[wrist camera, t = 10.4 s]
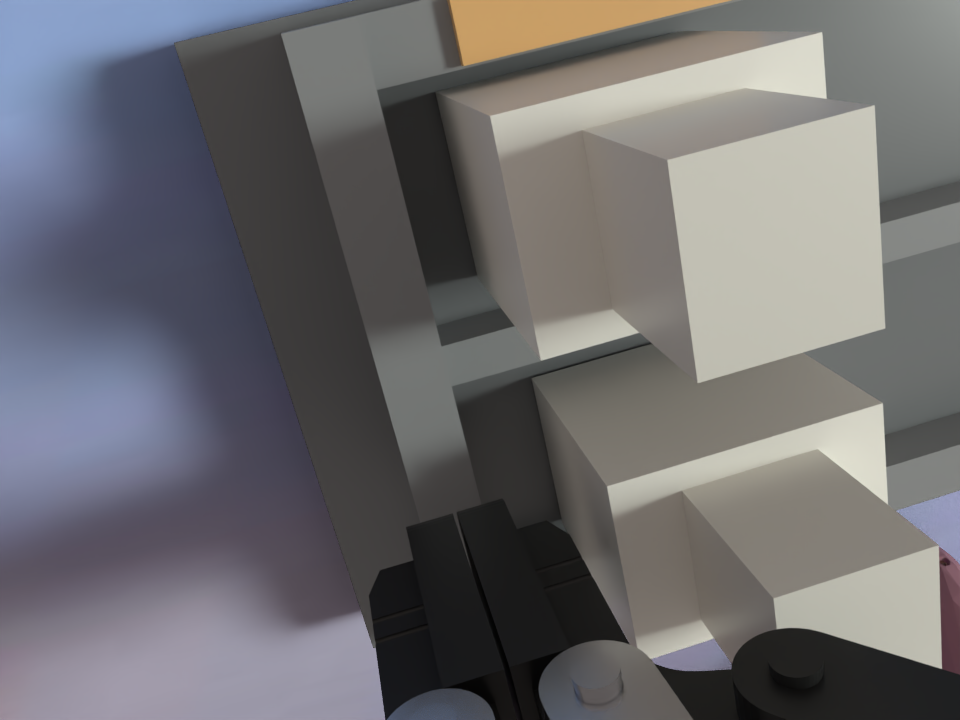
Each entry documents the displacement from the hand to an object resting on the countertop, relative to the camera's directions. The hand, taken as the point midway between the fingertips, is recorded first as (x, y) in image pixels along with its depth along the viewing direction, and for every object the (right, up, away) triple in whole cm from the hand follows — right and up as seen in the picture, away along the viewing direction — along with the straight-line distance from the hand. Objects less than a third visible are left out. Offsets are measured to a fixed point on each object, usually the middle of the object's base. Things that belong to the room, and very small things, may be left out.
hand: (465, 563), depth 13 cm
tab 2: (+3, +2, +3) cm, 5 cm away
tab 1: (+2, +6, +1) cm, 7 cm away
